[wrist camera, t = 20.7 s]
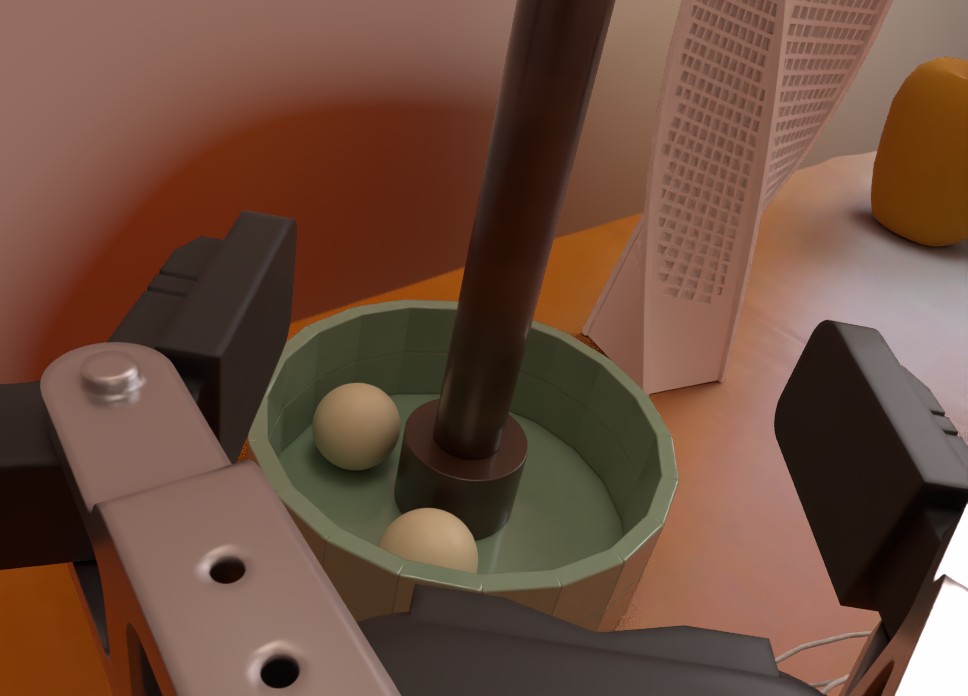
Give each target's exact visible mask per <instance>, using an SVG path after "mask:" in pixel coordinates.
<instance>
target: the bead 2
mask: <svg viewBox="0 0 968 696" xmlns="http://www.w3.org/2000/svg"><path fill="white" fill-rule="evenodd" d="M378 547H380V548H382V549H384V550H386V551H388V552H391V553H393V554H395V555H397V556H399V557H401V558H403V559H405V560H410V561H415V562H420V563H425V564H430V565H435V566H440V567H445V568H450V569H455V570H460V571H466V572H471V573H477V569H478V552H477V547H476V543H475V541H474V538H473V536H472V534H471V532H470V531H469V529H468V528H467V527H466V525H465V524H464V523H463V522H462V521H461V520H460V519H458V518H457V517H455V516H454V515H452V514H451V513H448V512H446V511H443V510H440V509H435V508H420V509H416V510H412V511H409V512H407V513H405V514H403V515H401V516H400V517H398V518H397V519H396V520H395V521H393V522H392V523H391V524H390V525H389V527H388V528H387V529H386V530H385V532H384V534H383V535H382V537H381V539H380V542H379V544H378Z"/></svg>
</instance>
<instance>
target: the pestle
mask: <svg viewBox="0 0 968 696" xmlns="http://www.w3.org/2000/svg"><path fill="white" fill-rule="evenodd" d="M614 4H615V0H517V3H516V8H515V13H514V19H513V24H512V29H511V34H510V39H509V44H508V50H507V54H506V60H505V65H504V70H503V75H502V80H501V86H500V90H499V96H498V101H497V106H496V111H495V116H494V122H493V126H492V132H491V137H490V142H489V147H488V152H487V157H486V162H485V168H484V173H483V178H482V183H481V188H480V193H479V198H478V204H477V209H476V215H475V219H474V224H473V229H472V235H471V240H470V245H469V250H468V255H467V261H466V265H465V270H464V276H463V281H462V286H461V291H460V296H459V301H458V306H457V312H456V317H455V322H454V327H453V332H452V337H451V342H450V348H449V353H448V358H447V363H446V368H445V373H444V378H443V384H442V389H441V394H440V398H439V399H435V400H432V401H429V402H426V403H424V404H422V405H421V406H419V407H418V408H416V409H415V410H414V411H413V412H412V413H411V415H410V416H409V417H408V419H407V421H406V424H405V428H404V434H403V440H402V446H401V452H400V458H399V464H398V470H397V476H396V482H395V489H394V494H395V500H396V503H397V506H398V508H399V510H400V512H401V513H402V515H403V514H405V513H407V512H409V511H412V510H416V509H420V508H435V509H440V510H443V511H446V512H448V513H451V514H452V515H454V516H455V517H457V518H458V519H460V520H461V521H462V522H463V523H464V524H465V525H466V527H467V528H468V529H469V531H470V532H471V534H472V536H473V538H474V541H476V540H481V539H484V538H486V537H489V536H491V535H493V534H494V533H496V532H497V531H499V530H500V529H501V528H502V527H503V526H504V525H505V524H506V522H507V521H508V519H509V517H510V514H511V511H512V507H513V504H514V500H515V497H516V493H517V490H518V486H519V483H520V479H521V476H522V472H523V469H524V465H525V462H526V458H527V455H528V440H527V437H526V434H525V432H524V430H523V429H522V427H521V426H520V424H519V423H518V422H517V421H516V420H515V419H514V418H513V417H512V416H510V415H509V410H510V406H511V402H512V398H513V395H514V391H515V387H516V383H517V379H518V375H519V371H520V367H521V364H522V360H523V356H524V352H525V348H526V344H527V340H528V337H529V333H530V329H531V325H532V321H533V317H534V313H535V309H536V306H537V302H538V298H539V294H540V290H541V286H542V282H543V279H544V275H545V271H546V267H547V263H548V259H549V255H550V251H551V248H552V244H553V240H554V236H555V232H556V228H557V224H558V220H559V217H560V213H561V209H562V204H563V201H564V197H565V193H566V190H567V186H568V181H569V178H570V174H571V170H572V166H573V162H574V158H575V155H576V150H577V147H578V143H579V139H580V135H581V132H582V127H583V124H584V120H585V116H586V112H587V108H588V104H589V101H590V97H591V93H592V89H593V85H594V81H595V77H596V74H597V70H598V66H599V62H600V58H601V54H602V50H603V46H604V42H605V39H606V35H607V31H608V27H609V23H610V19H611V15H612V12H613V8H614Z"/></svg>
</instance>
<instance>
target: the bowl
mask: <svg viewBox="0 0 968 696" xmlns="http://www.w3.org/2000/svg"><path fill="white" fill-rule="evenodd" d="M457 306H458V301H431V300H398V301H391V302H385V303H378V304H371V305H365V306H358V307H354V308H351V309H348V310H346V311H343V312H341V313H338V314H335V315H333V316H330V317H328V318H325V319H323V320H320V321H318V322H315V323H312V324H310V325H308V326H306V327H305V328H303V329H302V330H301V331H300V332H298V333H297V334H296V335H295V336H293V337H292V338H291V339H289V340H288V341H287V342H286V344H285V347H284V350H283V352H282V355H281V357H280V359H279V362H278V364H277V366H276V369H275V371H274V374H273V376H272V378H271V381H270V383H269V386H268V388H267V390H266V393H265V395H264V398H263V400H262V402H261V405H260V407H259V409H258V412H257V414H256V417H255V419H254V421H253V424H252V426H251V429H250V431H249V433H248V436H247V460H252V461H254V462H255V463H256V464H257V465H258V466H259V467H260V468H261V470H262V471H263V473H264V474H265V476H266V477H267V479H268V480H269V482H270V484H271V485H272V487H273V488H274V490H275V492H276V493H277V495H278V497H279V498H280V500H281V501H282V503H283V505H284V506H285V508H286V510H287V511H288V513H289V514H290V516H291V518H292V519H293V521H294V523H295V524H296V526H297V527H298V529H299V531H300V532H301V534H302V535H303V537H304V539H305V540H306V542H307V544H308V545H309V547H310V548H311V550H312V552H313V553H314V555H315V557H316V558H317V560H318V561H319V563H320V565H321V566H322V568H323V570H324V571H325V573H326V574H327V576H328V578H329V579H330V581H331V582H332V584H333V586H334V587H335V589H336V591H337V592H338V594H339V595H340V597H341V599H342V600H343V602H344V604H345V605H346V607H347V608H348V610H349V612H350V613H351V615H352V616H353V618H354V620H355V621H356V622H358V621H361V620H364V619H367V618H370V617H375V616H380V615H385V614H390V613H399V612H409V608H410V604H411V599H412V594H413V590H414V585H415V584H420V585H426V586H433V587H439V588H446V589H452V590H459V591H465V592H471V593H478V594H484V595H491V596H497V597H504V598H506V599H509V600H512V601H514V602H517V603H520V604H522V605H525V606H528V607H530V608H533V609H535V610H538V611H541V612H543V613H546V614H549V615H551V616H554V617H556V618H559V619H562V620H564V621H567V622H570V623H572V624H575V625H578V626H580V627H583V628H585V629H588V630H592V631H597V632H612V631H613V629H614V628H615V627H616V625H617V624H618V622H619V621H620V619H621V618H622V617H623V616H624V614H625V613H626V611H627V608H628V606H629V604H630V602H631V599H632V597H633V595H634V593H635V590H636V588H637V586H638V584H639V581H640V579H641V577H642V574H643V572H644V569H645V568H646V565H647V563H648V561H649V559H650V556H651V554H652V552H653V549H654V547H655V545H656V543H657V540H658V538H659V536H660V534H661V531H662V529H663V527H664V525H665V522H666V519H667V516H668V513H669V510H670V507H671V504H672V501H673V498H674V495H675V492H676V489H677V486H678V481H679V478H678V472H677V465H676V458H675V452H674V445H673V439H672V436H671V433H670V432H669V430H668V428H667V427H666V425H665V423H664V422H663V420H662V418H661V416H660V415H659V413H658V411H657V410H656V408H655V406H654V404H653V403H652V401H651V399H650V398H649V396H648V395H647V394H646V393H645V392H644V391H643V390H642V389H641V388H640V387H639V386H638V385H637V384H636V383H635V382H634V381H633V380H632V379H631V378H630V377H629V376H627V375H626V374H625V373H624V372H623V371H622V370H621V369H620V368H619V367H618V366H617V365H616V364H615V363H614V362H613V361H611V360H610V359H609V358H607V357H605V356H604V355H602V354H600V353H599V352H597V351H596V350H594V349H592V348H591V347H589V346H587V345H586V344H584V343H582V342H581V341H579V340H578V339H576V338H574V337H573V336H571V335H569V334H568V333H565V332H563V331H561V330H558V329H555V328H553V327H550V326H548V325H545V324H543V323H540V322H537V321H535V320H533V321H532V325H531V329H530V333H529V337H528V340H527V344H526V348H525V352H524V356H523V360H522V364H521V367H520V371H519V375H518V379H517V383H516V387H515V391H514V395H513V398H512V402H511V406H510V410H509V415H510V416H512V417H513V418H514V419H515V420H516V421H517V422H518V423H519V424H520V426H521V427H522V429H523V430H524V432H525V434H526V437H527V440H528V455H527V458H526V462H525V465H524V469H523V472H522V476H521V479H520V483H519V486H518V490H517V493H516V497H515V500H514V504H513V507H512V511H511V514H510V517H509V519H508V521H507V522H506V524H505V525H504V526H503V527H502V528H501V529H500V530H499V531H497V532H496V533H494V534H493V535H491V536H489V537H486V538H484V539H481V540H476V541H475V543H476V547H477V552H478V569H477V573H471V572H466V571H460V570H455V569H450V568H445V567H440V566H435V565H430V564H425V563H420V562H415V561H410V560H405V559H403V558H401V557H399V556H397V555H395V554H393V553H391V552H388V551H386V550H384V549H382V548H380V547H378V544H379V542H380V539H381V537H382V535H383V534H384V532H385V530H386V529H387V528H388V527H389V525H390V524H391V523H392V522H393V521H395V520H396V519H397V518H398V517H400V516H401V515H402V513H401V512H400V510H399V508H398V506H397V503H396V500H395V494H394V489H395V482H396V476H397V470H398V464H399V458H400V452H401V446H402V440H403V434H404V428H405V424H406V421H407V419H408V417H409V416H410V415H411V413H412V412H413V411H414V410H415V409H416V408H418V407H419V406H421V405H422V404H424V403H426V402H429V401H432V400H435V399H439V398H440V394H441V389H442V384H443V378H444V373H445V368H446V363H447V358H448V353H449V348H450V342H451V337H452V332H453V327H454V322H455V317H456V312H457ZM349 383H365V384H369V385H372V386H375V387H377V388H379V389H381V390H382V391H383V392H385V393H386V394H387V395H388V396H389V397H390V398H391V399H392V401H393V402H394V404H395V406H396V408H397V410H398V413H399V417H400V425H401V427H400V435H399V439H398V442H397V444H396V446H395V448H394V450H393V451H392V453H391V454H390V455H389V456H388V457H387V458H386V459H385V460H384V461H382V462H381V463H379V464H378V465H376V466H374V467H371V468H368V469H364V470H347V469H343V468H340V467H338V466H336V465H334V464H332V463H331V462H329V461H328V460H327V459H326V458H325V457H324V456H323V455H322V454H321V452H320V451H319V449H318V448H317V446H316V443H315V441H314V437H313V431H312V423H313V417H314V414H315V411H316V409H317V407H318V405H319V403H320V402H321V400H322V399H323V398H324V397H325V396H326V395H327V394H328V393H329V392H330V391H332V390H334V389H335V388H337V387H339V386H342V385H345V384H349Z"/></svg>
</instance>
